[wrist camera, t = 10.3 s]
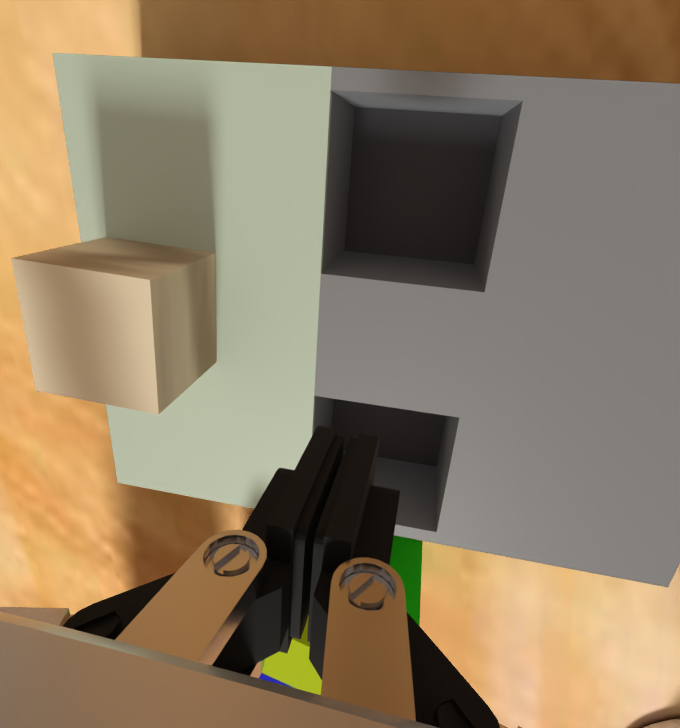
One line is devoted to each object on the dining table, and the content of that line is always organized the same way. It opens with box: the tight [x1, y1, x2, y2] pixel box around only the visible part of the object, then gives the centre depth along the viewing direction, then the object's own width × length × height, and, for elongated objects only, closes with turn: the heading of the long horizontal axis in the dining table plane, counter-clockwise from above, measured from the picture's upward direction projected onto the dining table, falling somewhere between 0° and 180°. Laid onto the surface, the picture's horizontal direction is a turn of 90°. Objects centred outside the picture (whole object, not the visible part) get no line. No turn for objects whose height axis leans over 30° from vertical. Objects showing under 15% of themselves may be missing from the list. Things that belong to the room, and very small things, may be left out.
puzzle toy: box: [259, 535, 422, 695], centre depth 29 cm, size 10×10×10 cm
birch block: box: [11, 237, 217, 415], centre depth 19 cm, size 5×5×5 cm
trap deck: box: [53, 53, 680, 587], centre depth 22 cm, size 28×20×6 cm
